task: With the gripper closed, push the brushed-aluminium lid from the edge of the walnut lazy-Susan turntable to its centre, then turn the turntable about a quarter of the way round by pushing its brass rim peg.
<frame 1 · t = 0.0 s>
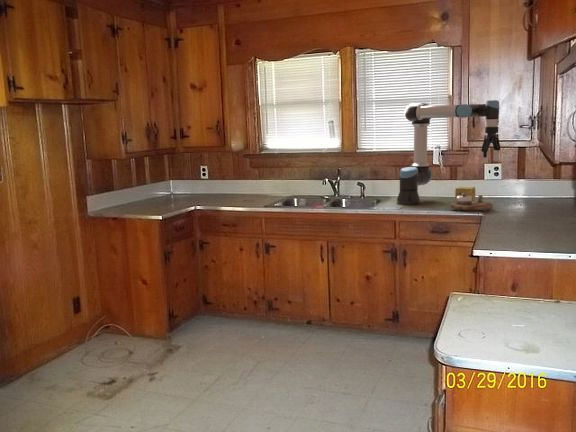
hand: (490, 162, 334), 28 cm above the worktop, fingers open, 13 cm apart
turntable base: (471, 210, 332), on the worktop
turntable: (471, 202, 331), point 5 cm above the worktop, hinge at 0.0°, touching cover
cheese: (464, 202, 360), on the worktop
cover: (463, 203, 335), point 3 cm above the worktop, touching turntable
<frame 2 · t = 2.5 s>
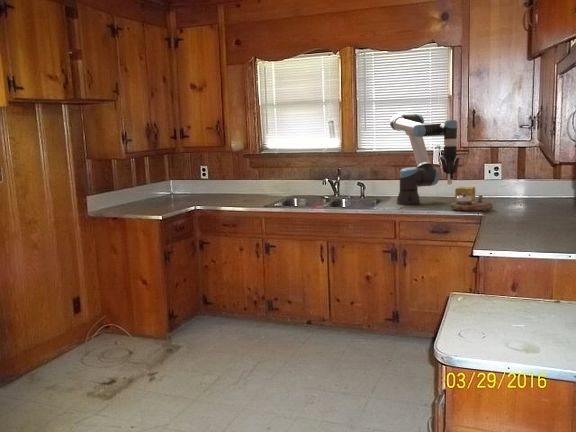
hand: (449, 184, 340), 15 cm above the worktop, fingers closed
nothing on the worktop moved.
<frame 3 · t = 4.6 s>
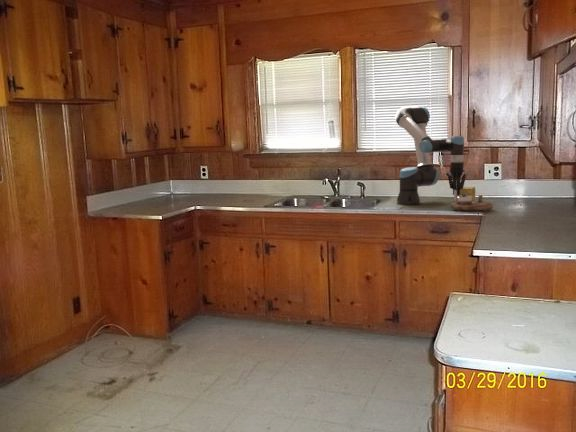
hand: (456, 200, 338), 5 cm above the worktop, fingers closed
cover: (464, 203, 335), point 4 cm above the worktop, touching gripper, turntable
everything else where it was.
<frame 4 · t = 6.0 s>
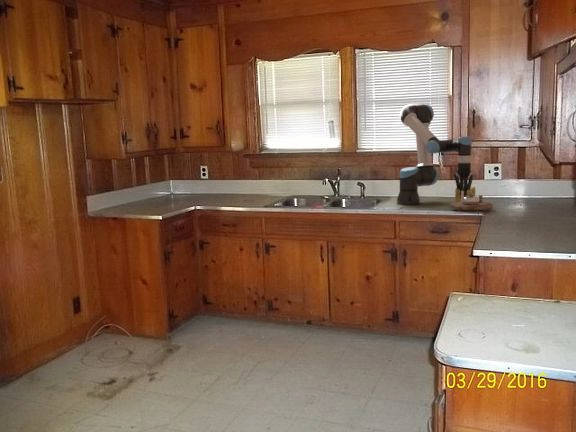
hand: (463, 201, 335), 5 cm above the worktop, fingers closed
cover: (471, 204, 331), point 3 cm above the worktop, touching gripper, turntable
everything else where it was.
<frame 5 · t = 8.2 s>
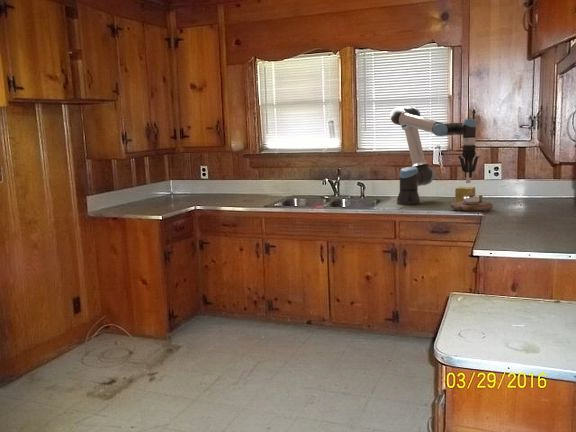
hand: (468, 182, 342), 15 cm above the worktop, fingers closed
cover: (471, 204, 331), point 3 cm above the worktop, touching turntable
everything else where it was.
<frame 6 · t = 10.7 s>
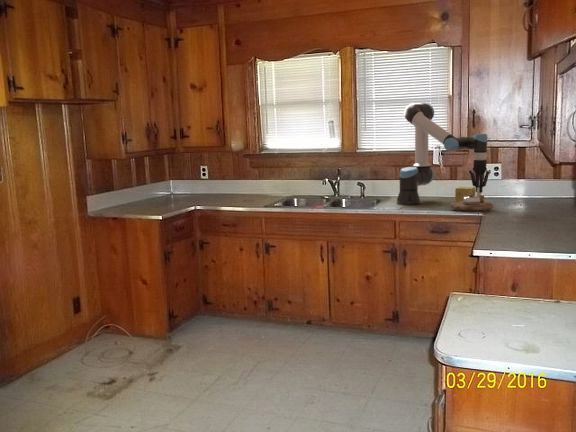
hand: (478, 197, 338), 6 cm above the worktop, fingers closed
turntable: (471, 202, 331), point 5 cm above the worktop, hinge at -6.2°, touching cover, gripper
everything else where it was.
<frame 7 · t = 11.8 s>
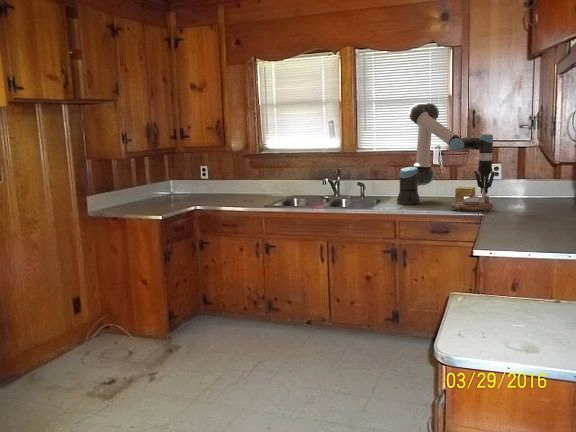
hand: (483, 198, 336), 6 cm above the worktop, fingers closed
turntable: (471, 202, 331), point 5 cm above the worktop, hinge at -25.2°, touching cover, gripper
everything else where it was.
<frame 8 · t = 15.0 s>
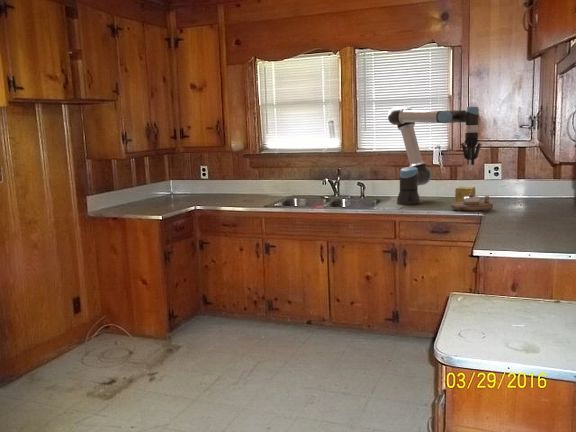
hand: (470, 170, 345), 22 cm above the worktop, fingers closed
turntable: (471, 202, 331), point 5 cm above the worktop, hinge at -25.3°, touching cover
everything else where it was.
at the end: cover 0.3 cm from the turntable (horizontally); turntable at -25° (first picture: +0°); cover tilted 0° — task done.
